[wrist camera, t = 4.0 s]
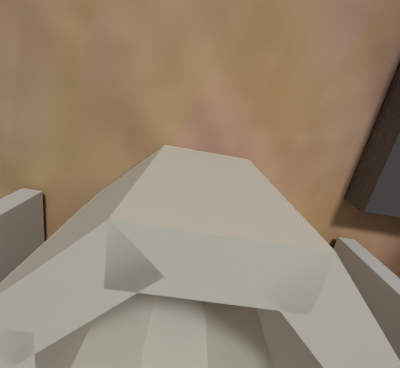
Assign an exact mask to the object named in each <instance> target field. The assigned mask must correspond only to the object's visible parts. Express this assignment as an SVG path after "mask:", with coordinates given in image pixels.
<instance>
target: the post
mask: <svg viewBox="0 0 400 368" xmlns="http://www.w3.org/2000/svg"><path fill="white" fill-rule="evenodd" d="M344 199H345V200H346V201H348V202H349V203H351V204H353V205H354V206H356V207H357V208H359V209H360V210H362V211H363V212H368V213H374V214H380V215H386V216H392V217H398V218H400V65H399V68H398V70H397V73H396V75H395V78H394V80H393V82H392V85H391V87H390V90H389V92H388V94H387V97H386V99H385V102H384V104H383V107H382V109H381V111H380V114H379V116H378V119H377V121H376V123H375V126H374V128H373V131H372V133H371V136H370V138H369V140H368V143H367V145H366V148H365V150H364V152H363V155H362V157H361V160H360V162H359V165H358V167H357V169H356V172H355V174H354V177H353V179H352V182H351V184H350V186H349V189H348V191H347V194H346V196H345V198H344Z"/></svg>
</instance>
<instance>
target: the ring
mask: <svg viewBox="0 0 400 368" xmlns="http://www.w3.org/2000/svg"><path fill="white" fill-rule="evenodd" d="M0 368H400V360H399V359H398V357H397V355H396V353H395V352H394V350H393V348H392V347H391V345H390V343H389V342H388V340H387V338H386V336H385V335H384V333H383V331H382V330H381V328H380V326H379V325H378V323H377V321H376V320H375V318H374V316H373V314H372V313H371V311H370V309H369V308H368V306H367V304H366V303H365V301H364V299H363V298H362V296H361V294H360V292H359V291H358V289H357V287H356V286H355V284H354V282H353V281H352V279H351V277H350V275H349V274H348V272H347V270H346V269H345V267H344V265H343V264H342V262H341V260H340V259H339V257H338V255H337V252H336V251H335V250H334V249H333V248H332V247H331V246H330V245H329V244H328V243H327V242H326V241H325V240H324V239H323V238H322V237H321V236H320V234H319V233H318V232H317V231H316V230H315V229H314V228H313V227H312V226H311V225H310V224H309V223H308V222H307V221H306V220H305V219H304V217H303V216H302V215H301V214H300V213H299V212H298V211H297V210H296V209H295V208H294V207H293V206H292V205H291V204H290V203H289V202H288V201H287V199H286V198H285V197H284V196H283V195H282V194H281V193H280V192H279V191H278V190H277V189H276V188H275V187H274V186H273V185H272V184H271V182H270V181H269V180H268V179H267V178H266V177H265V176H264V175H263V174H262V173H261V172H260V171H259V170H258V169H257V168H256V167H255V166H254V164H253V163H252V162H251V161H250V160H249V159H243V158H238V157H232V156H226V155H221V154H215V153H209V152H203V151H198V150H192V149H186V148H181V147H175V146H169V145H164V146H163V147H161V148H160V149H158V150H157V151H156V152H154V153H153V154H151V155H150V156H149V157H147V158H146V159H145V160H143V161H142V162H140V163H139V164H138V165H136V166H135V167H133V168H132V169H131V170H129V171H128V172H127V173H125V174H124V175H122V176H121V177H120V178H118V179H117V180H115V181H114V182H113V183H111V184H110V185H108V186H107V187H106V188H104V189H103V190H102V191H100V192H99V193H98V194H97V195H96V196H95V197H93V198H92V199H91V200H90V201H89V202H88V203H87V204H86V205H85V206H84V207H82V208H81V209H80V210H79V211H78V212H77V213H76V214H75V215H74V216H73V217H72V218H70V219H69V220H68V221H67V222H66V223H65V224H64V225H63V226H62V227H61V228H60V229H58V230H57V231H56V232H55V233H54V234H53V235H52V236H51V237H50V238H49V239H48V240H46V241H45V242H44V243H43V244H42V245H41V246H40V247H39V248H38V249H37V250H36V251H34V252H33V253H32V254H31V255H30V256H29V257H28V258H27V259H26V260H25V261H23V262H22V263H21V264H20V265H19V266H18V267H17V268H16V269H15V270H14V271H13V272H11V273H10V274H9V275H8V276H7V277H6V278H5V279H4V280H3V281H2V282H1V283H0Z"/></svg>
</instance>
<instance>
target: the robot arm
mask: <svg viewBox="0 0 400 368" xmlns="http://www.w3.org/2000/svg"><path fill="white" fill-rule="evenodd" d="M44 242H45V240H44V218H43V195H42V191H38V190H31V189H25V188H22V189H20V190H18V191H16V192H14V193H12V194H10V195H7V196H5V197H3V198H1V199H0V283H1V282H2V281H3V280H4V279H5V278H6V277H7V276H8V275H9V274H10V273H11V272H13V271H14V270H15V269H16V268H17V267H18V266H19V265H20V264H21V263H22V262H23V261H25V260H26V259H27V258H28V257H29V256H30V255H31V254H32V253H33V252H34V251H36V250H37V249H38V248H39V247H40V246H41V245H42V244H43V243H44ZM333 249H334V250H335V251H336V252H337V255H338V257H339V259H340V260H341V262H342V264H343V265H344V267H345V269H346V270H347V272H348V274H349V275H350V277H351V279H352V281H353V282H354V284H355V286H356V287H357V289H358V291H359V292H360V294H361V296H362V298H363V299H364V301H365V303H366V304H367V306H368V308H369V309H370V311H371V313H372V314H373V316H374V318H375V320H376V321H377V323H378V325H379V326H380V328H381V330H382V331H383V333H384V335H385V336H386V338H387V340H388V342H389V343H390V345H391V347H392V348H393V350H394V352H395V353H396V355H397V357H398V359H399V360H400V278H399V277H397V276H396V275H395V274H394V273H393V272H392V271H390V270H389V269H388V268H387V267H386V266H385V265H383V264H382V263H381V262H380V261H379V260H378V259H377V258H375V257H374V256H373V255H372V254H371V253H370V252H368V251H367V250H366V249H365V248H364V247H363V246H361V245H360V244H359V243H358V242H357V241H356V240H354V239H348V238H341V237H338V239H337V241H336V243H335V246H334V248H333Z"/></svg>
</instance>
